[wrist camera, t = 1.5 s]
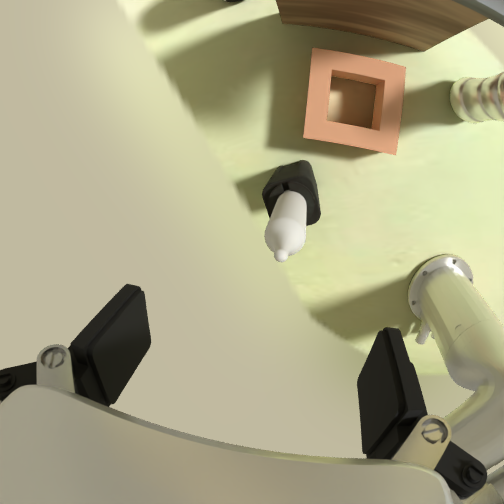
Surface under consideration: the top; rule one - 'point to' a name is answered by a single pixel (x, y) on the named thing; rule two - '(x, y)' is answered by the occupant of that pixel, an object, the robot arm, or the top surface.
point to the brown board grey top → (394, 17)
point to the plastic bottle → (478, 98)
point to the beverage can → (232, 0)
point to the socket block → (385, 105)
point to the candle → (290, 208)
